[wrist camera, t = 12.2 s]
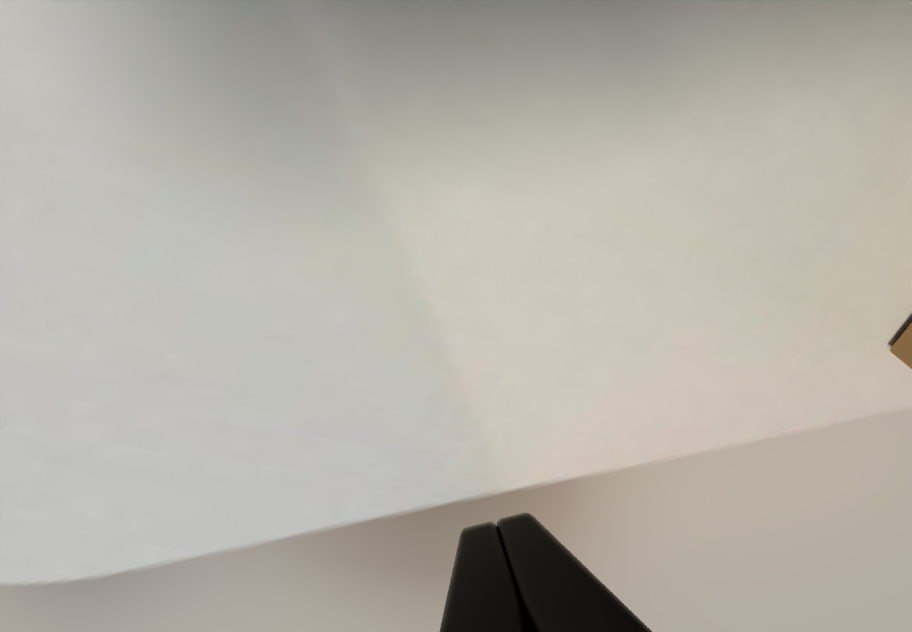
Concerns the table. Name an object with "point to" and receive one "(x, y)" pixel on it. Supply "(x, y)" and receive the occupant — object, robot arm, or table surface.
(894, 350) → the wooden cabinet door
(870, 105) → the table surface
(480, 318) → the table surface
